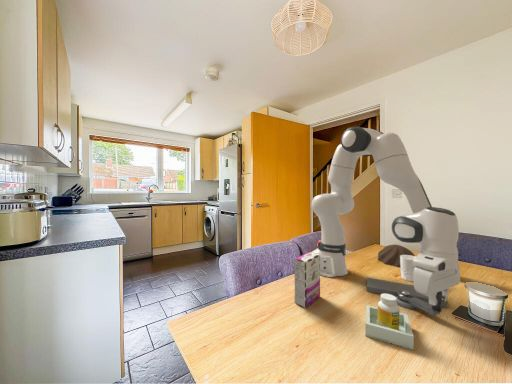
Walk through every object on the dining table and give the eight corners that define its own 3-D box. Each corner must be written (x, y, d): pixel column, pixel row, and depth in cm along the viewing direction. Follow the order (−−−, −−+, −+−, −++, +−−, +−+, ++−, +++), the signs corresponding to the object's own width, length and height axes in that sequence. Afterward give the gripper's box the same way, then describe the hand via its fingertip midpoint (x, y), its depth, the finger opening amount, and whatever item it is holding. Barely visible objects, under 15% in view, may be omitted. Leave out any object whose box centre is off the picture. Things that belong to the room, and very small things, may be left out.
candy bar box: (308, 292, 85) (309, 251, 85) (320, 296, 82) (320, 254, 82) (293, 303, 77) (293, 258, 77) (305, 308, 74) (306, 261, 73)
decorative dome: (390, 268, 112) (390, 249, 111) (370, 256, 131) (371, 240, 131) (427, 269, 111) (428, 249, 111) (402, 256, 131) (402, 240, 131)
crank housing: (366, 299, 80) (366, 293, 80) (366, 281, 95) (367, 277, 95) (454, 318, 68) (454, 312, 68) (438, 295, 83) (439, 289, 83)
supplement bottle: (383, 321, 66) (383, 290, 66) (402, 330, 62) (403, 297, 61) (373, 327, 63) (374, 295, 63) (393, 338, 59) (394, 303, 58)
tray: (365, 335, 60) (365, 323, 60) (366, 315, 70) (366, 304, 70) (413, 349, 55) (413, 336, 55) (406, 325, 65) (407, 314, 65)
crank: (394, 296, 78) (394, 276, 78) (404, 294, 80) (404, 274, 80) (435, 318, 65) (435, 293, 65) (446, 315, 67) (446, 291, 67)
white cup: (402, 280, 96) (402, 258, 96) (397, 274, 104) (398, 253, 103) (423, 284, 93) (423, 261, 93) (417, 277, 101) (417, 256, 100)
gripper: (443, 252, 75) (442, 291, 75) (409, 260, 66) (408, 304, 66) (467, 257, 69) (466, 299, 69) (433, 267, 60) (432, 315, 61)
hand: (437, 302), depth 68 cm, fingers open, 4 cm apart
